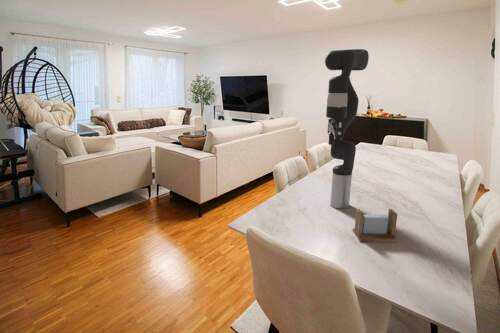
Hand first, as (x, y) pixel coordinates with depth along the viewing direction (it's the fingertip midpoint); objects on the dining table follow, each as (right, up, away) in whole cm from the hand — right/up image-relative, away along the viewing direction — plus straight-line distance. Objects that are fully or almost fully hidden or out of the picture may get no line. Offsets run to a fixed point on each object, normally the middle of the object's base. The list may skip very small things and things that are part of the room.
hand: (333, 146), depth 117 cm
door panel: (+16, -35, +1) cm, 39 cm away
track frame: (+16, -36, +1) cm, 40 cm away
